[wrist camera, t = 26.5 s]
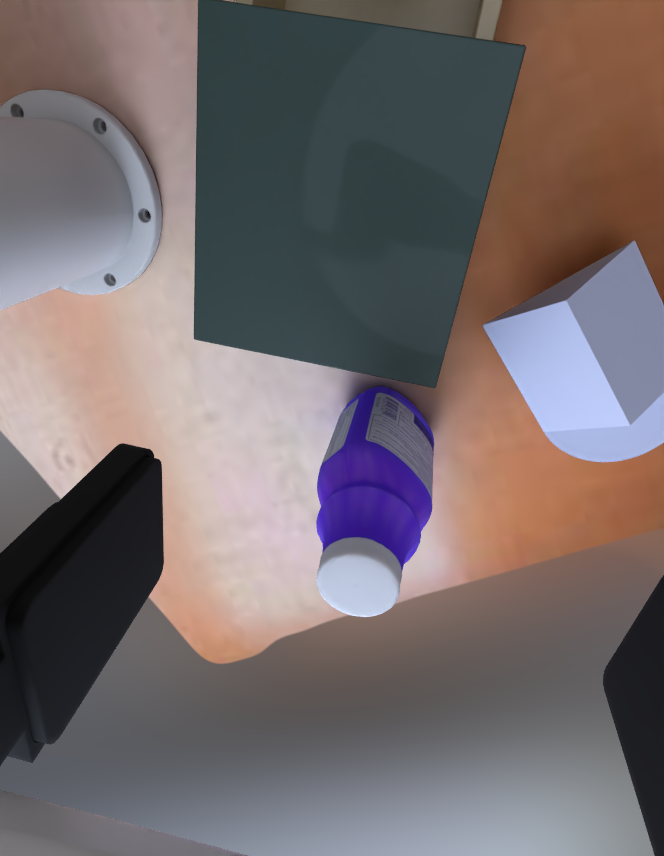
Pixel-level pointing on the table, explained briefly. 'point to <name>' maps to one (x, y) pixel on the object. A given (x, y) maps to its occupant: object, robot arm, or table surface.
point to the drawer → (405, 13)
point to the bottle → (373, 500)
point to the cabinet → (340, 184)
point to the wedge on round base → (591, 358)
